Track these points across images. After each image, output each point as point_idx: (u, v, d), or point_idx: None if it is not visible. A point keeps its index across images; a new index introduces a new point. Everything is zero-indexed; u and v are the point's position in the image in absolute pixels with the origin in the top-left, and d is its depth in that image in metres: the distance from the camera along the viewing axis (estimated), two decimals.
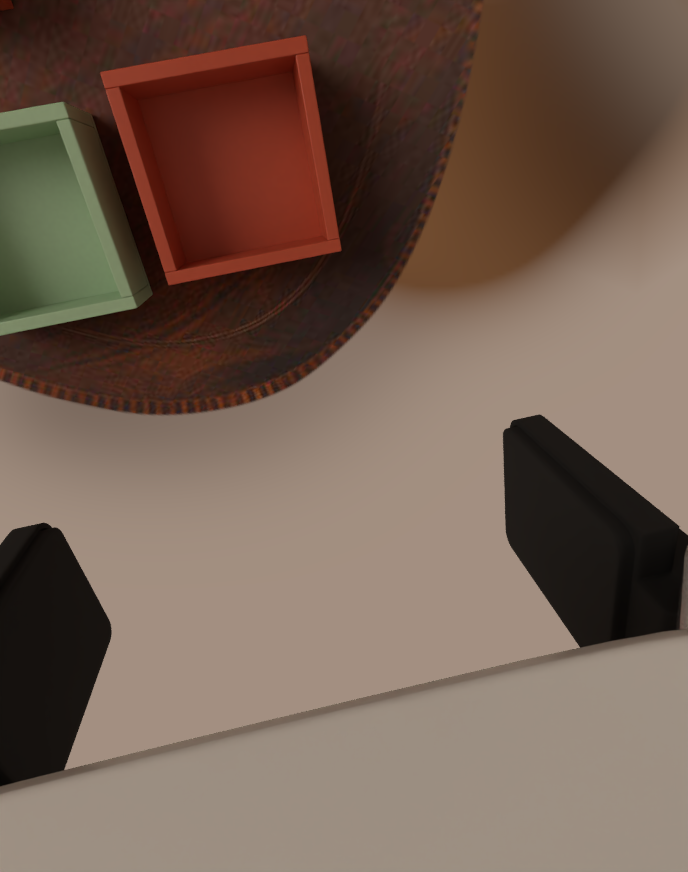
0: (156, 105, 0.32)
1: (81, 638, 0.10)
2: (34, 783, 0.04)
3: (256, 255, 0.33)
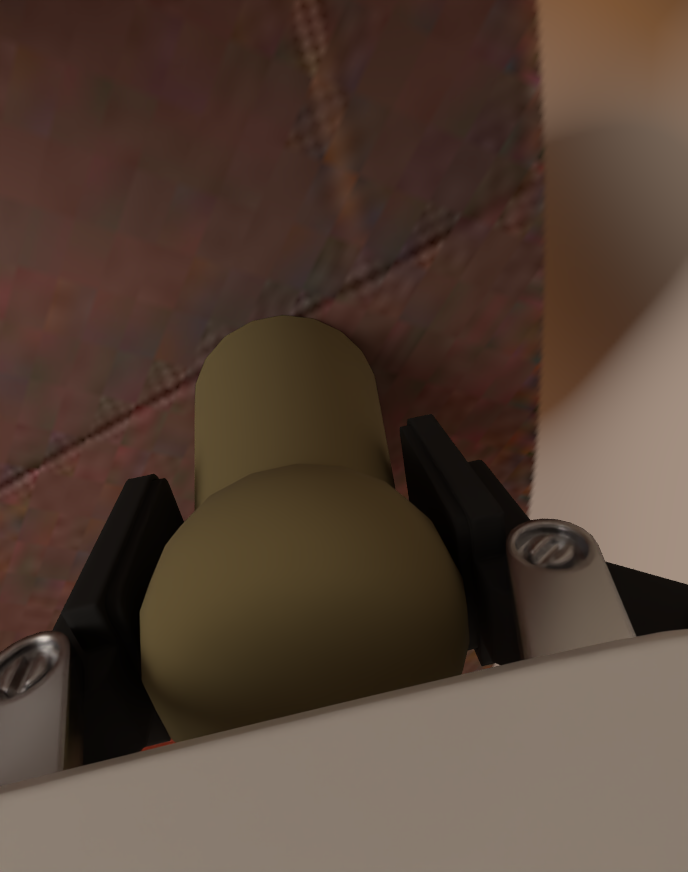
0: None
1: None
2: (34, 783, 0.04)
3: None
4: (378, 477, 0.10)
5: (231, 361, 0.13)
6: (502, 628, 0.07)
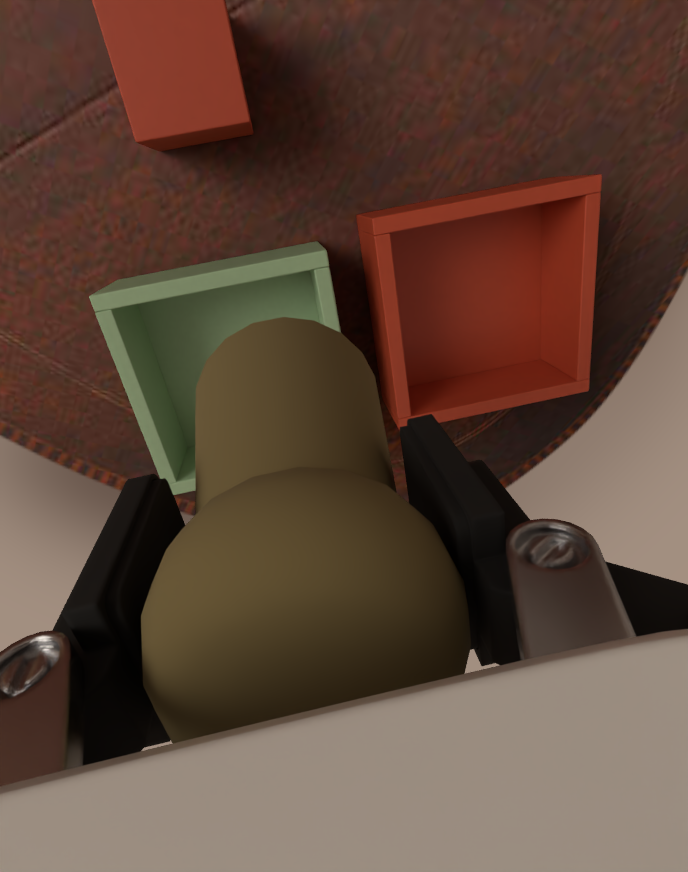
0: (391, 232, 0.29)
1: None
2: (34, 783, 0.04)
3: (498, 398, 0.29)
4: (379, 480, 0.10)
5: (231, 363, 0.13)
6: (502, 628, 0.07)
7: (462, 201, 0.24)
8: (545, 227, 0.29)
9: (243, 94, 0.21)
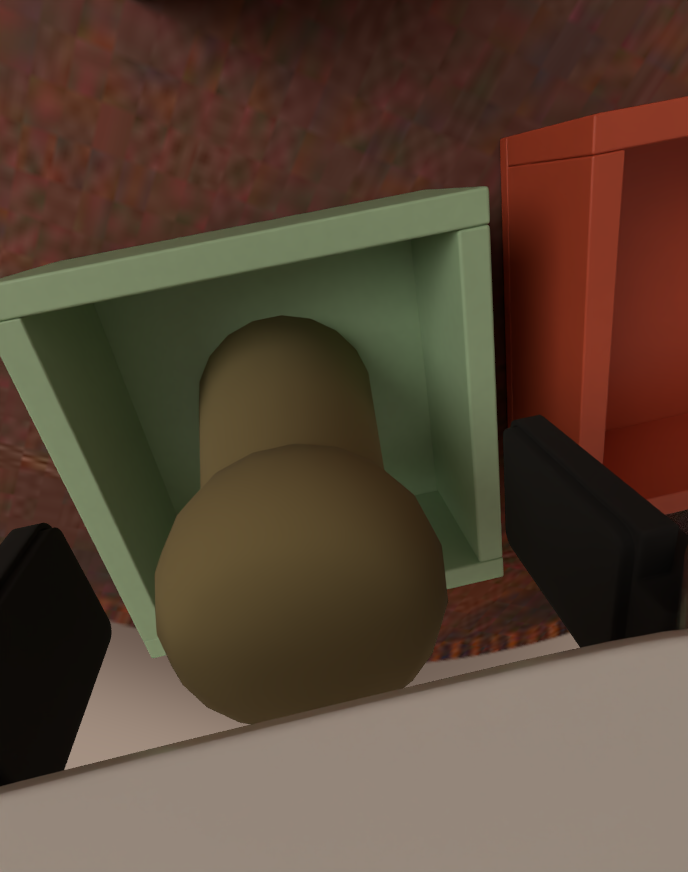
0: None
1: (81, 638, 0.10)
2: (34, 783, 0.04)
3: None
4: None
5: (233, 358, 0.14)
6: None
7: None
8: None
9: None
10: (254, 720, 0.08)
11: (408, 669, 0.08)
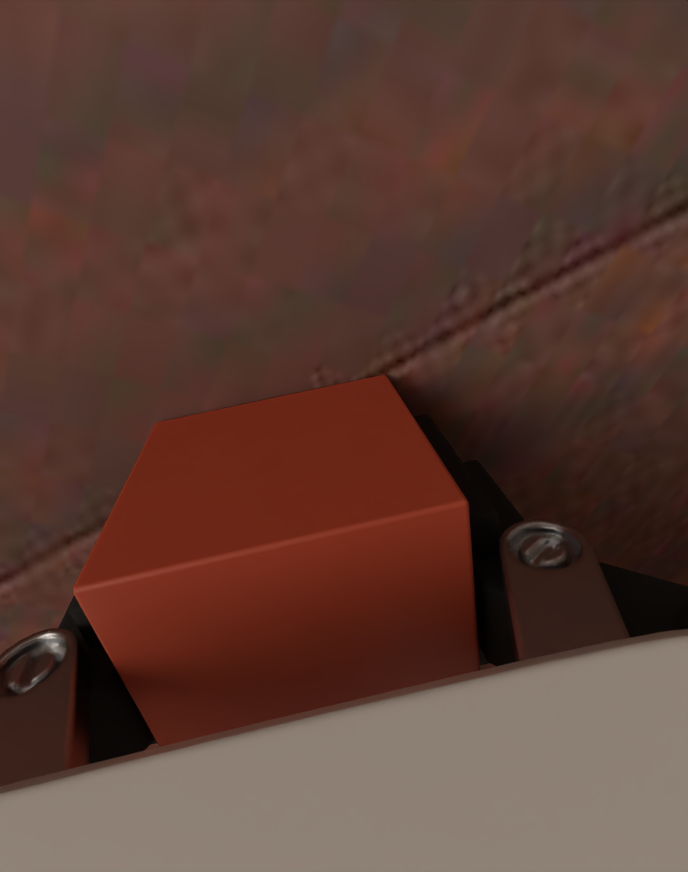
0: None
1: None
2: (34, 783, 0.04)
3: None
4: None
5: None
6: (496, 628, 0.07)
7: None
8: None
9: None
10: None
11: None
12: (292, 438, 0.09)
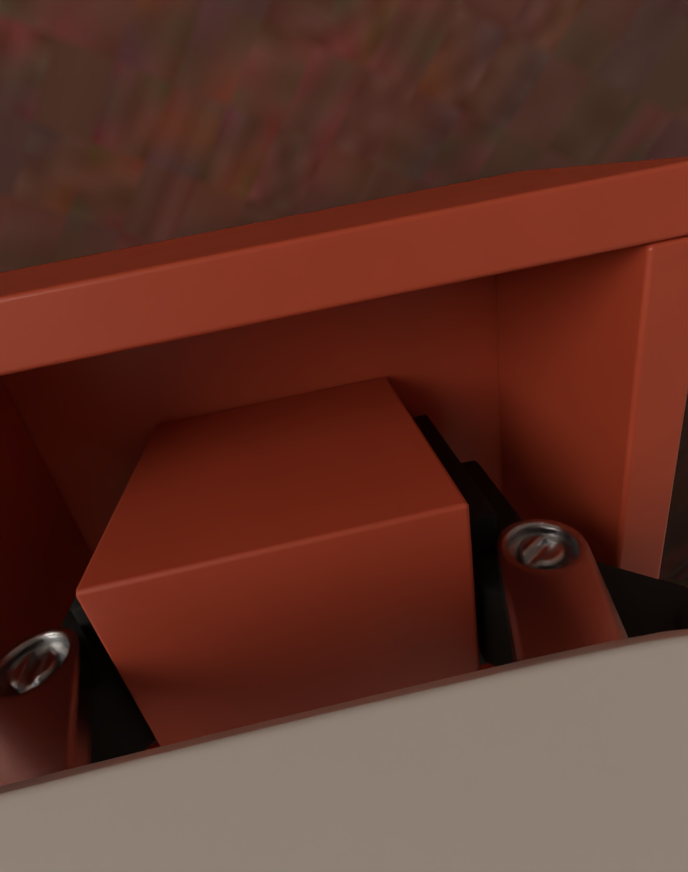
0: None
1: None
2: (34, 783, 0.04)
3: None
4: None
5: None
6: (494, 628, 0.07)
7: (75, 283, 0.05)
8: (505, 316, 0.10)
9: None
10: None
11: None
12: (293, 440, 0.09)
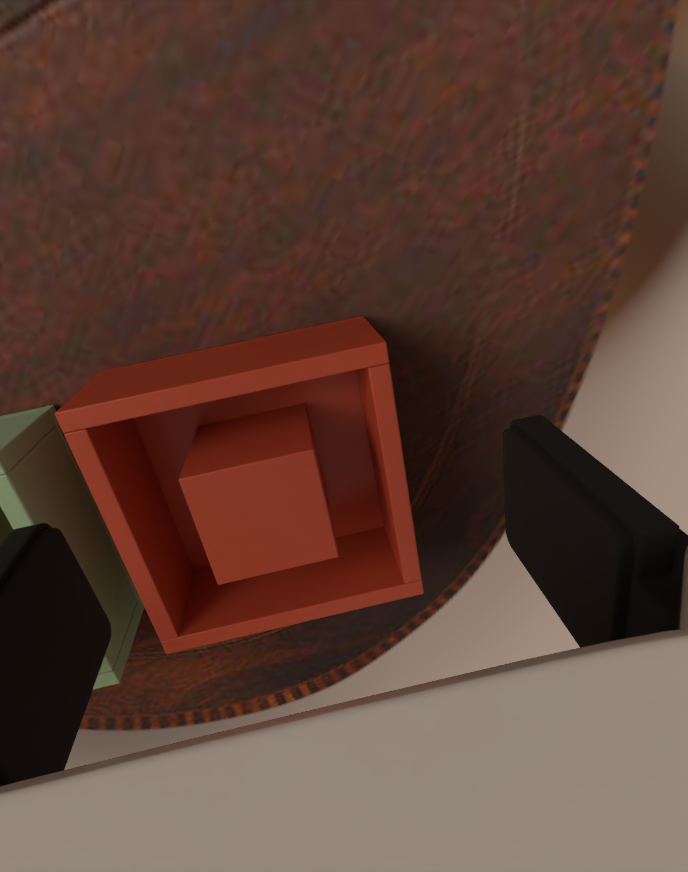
0: None
1: (81, 638, 0.10)
2: (34, 783, 0.04)
3: (297, 609, 0.22)
4: None
5: None
6: None
7: (185, 385, 0.17)
8: (358, 380, 0.22)
9: (333, 537, 0.20)
10: None
11: None
12: (258, 431, 0.21)
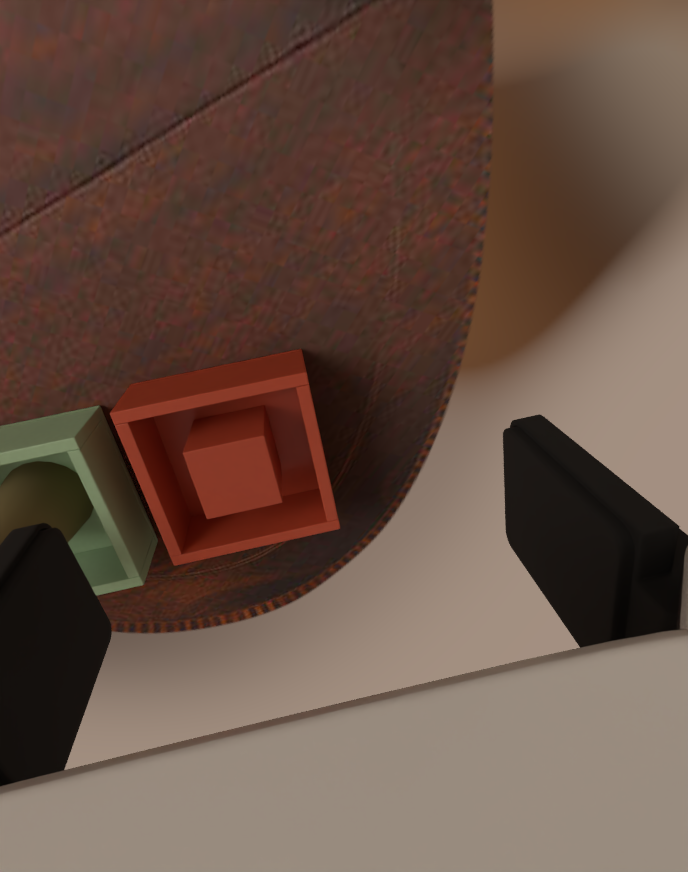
0: None
1: (81, 638, 0.10)
2: (34, 783, 0.04)
3: (258, 537, 0.34)
4: None
5: (1, 488, 0.32)
6: None
7: (186, 397, 0.29)
8: None
9: (278, 490, 0.32)
10: None
11: None
12: (232, 423, 0.32)
